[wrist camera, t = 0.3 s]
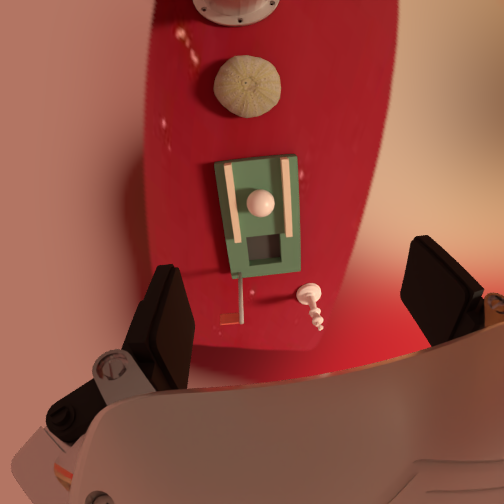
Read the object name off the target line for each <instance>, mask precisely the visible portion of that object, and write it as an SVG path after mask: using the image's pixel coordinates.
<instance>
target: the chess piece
mask: <svg viewBox="0 0 504 504" xmlns="http://www.w3.org/2000/svg"><path fill="white" fill-rule="evenodd" d="M296 296H297V299H298V301H299V302H300V303H302V304H305V305H309V306H310V308H311V310H310V311H309V315H310V316H311V317H313V319H312V323H313V325H316V326H317V327H318V329H319V330H320V331H321V330H322V329H323V326H322V325H321V324H322V322H323V318H322V317H321V316H320V315H319V314H320V312H321V311H320V309H319V308H316V301H318V300H319V298H320V296H321V289H320V287H319V286H318V285H316V284H313V283H308V284H305V285H303V286H301V287H300V288H299V289H298V291H297V294H296Z"/></svg>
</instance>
